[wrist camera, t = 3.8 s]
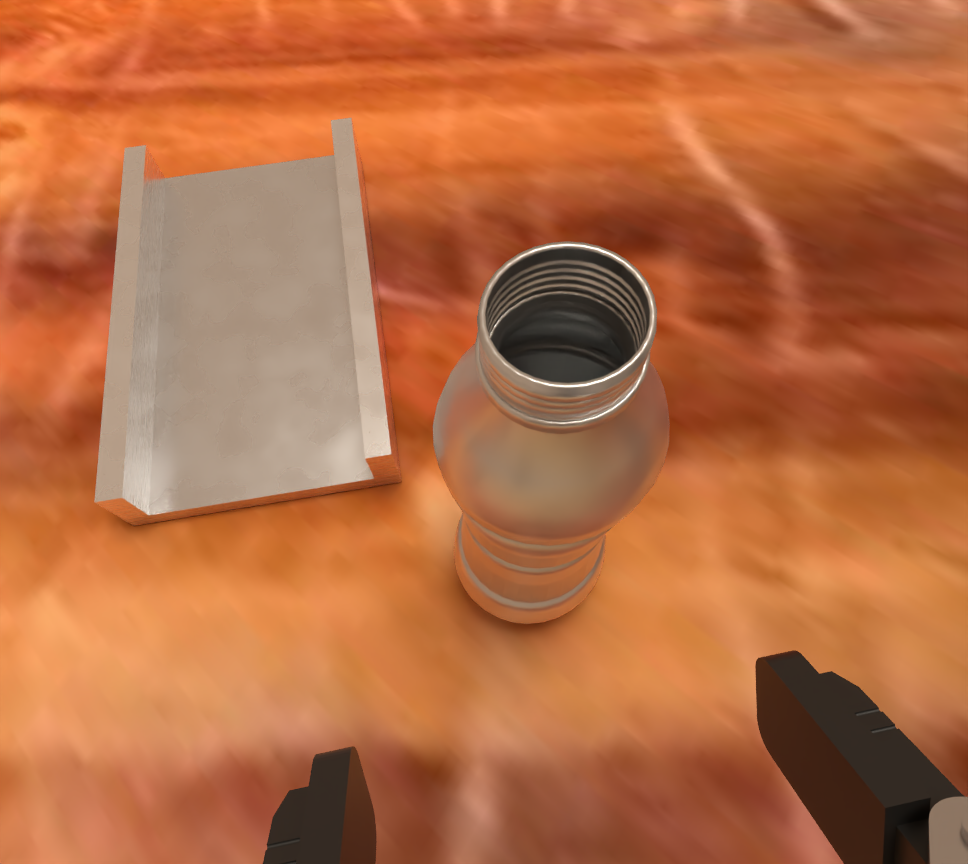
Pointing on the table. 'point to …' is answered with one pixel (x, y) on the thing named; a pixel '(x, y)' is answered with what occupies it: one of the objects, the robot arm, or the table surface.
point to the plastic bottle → (550, 427)
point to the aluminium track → (244, 339)
